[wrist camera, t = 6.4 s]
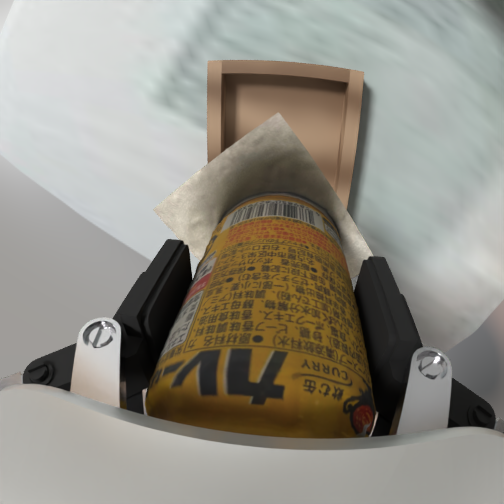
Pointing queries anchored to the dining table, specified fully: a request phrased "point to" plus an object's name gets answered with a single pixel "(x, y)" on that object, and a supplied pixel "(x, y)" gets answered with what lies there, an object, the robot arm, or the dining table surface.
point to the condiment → (266, 299)
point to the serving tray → (289, 109)
